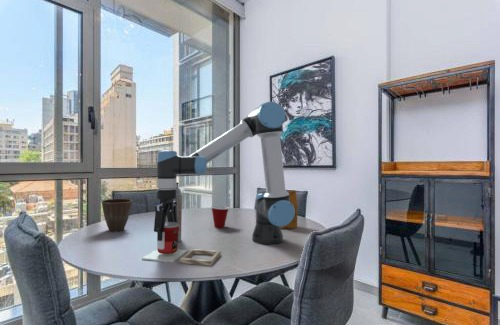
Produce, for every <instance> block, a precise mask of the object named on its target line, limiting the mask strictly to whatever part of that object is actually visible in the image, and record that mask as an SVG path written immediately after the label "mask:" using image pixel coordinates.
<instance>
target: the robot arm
mask: <svg viewBox="0 0 500 325" xmlns="http://www.w3.org/2000/svg"><path fill="white" fill-rule="evenodd" d="M285 112H286V111H285V110H284V108H283V107H282V105H280V104H279V103H278V102H276V101H266V102H263V103H261V104H260V105H259V106H258V107H256V108H255V109H253V110H252V111H251V112H250V113H249V114H248V115H247V116H245V117H244V118H242V119H241V120H240V122H239V124H237V125H236V126H233V127H232V128H231V129H230V130H228V131H226V132H224V133H222V135H220V136H218V137H217V138H215V139H214V140H212V141H210V142H209V143H207V144H206V145H204V146H203V147H201V148H199V149H198V150H196V151H195V152H193V153H192V154H190V155H178V152H177V151H176V150H159V151H158V152H157V162H156V166H157V168H156V170H157V171H156V173H157V175H156V179H157V180H156V184H157V185H156V186H157V191H156V199H157V200H159V204H158V205H155V206H154V210H155V213H154V225H153V232H154V233H157V234H156V236H157V237H156V241H157V242H156V245H157V246H156V250H157V249H164V248H165V232H163V231H164V226H165V221H166V216H167V219H168V222H176V223H177V208H176V206H177V201H173V199H175V198H176V189H175V188H176V187H177V183H178V182H177V180H178V179H177V175H198V176H199V175H205V174H206V173H207V165H209V163H210V162H212V161H214V160H216V159H217V158H218V157H220V156H221V155H223V154H224V153H227V152H228V151H230V150H231V149H233V147H236V146H237V145H239V144H240V143H242V142H243V141H244V140H246V139H248V138H253V137H255V136H257V137H258V138H260V145H261V155H262V163H263V172H264V173H263V174H264V181H265V193H258V194H256V197H255V198H256V199H255V201H256V204H255V206H256V207H255V211H256V212H255V226H254V230H253V232H252V236H251V240H252V241H253V242H254V243H258V244H262V245H273V244H274V245H275V244H280V242H281V243H282V242H283V241H284V234H283V232H282V229H281V228H280V227H282V226H286V225H288V224H289V223H290V222H291V221H292V220H293V218H294V215H295V209H294V206H293V205H292V204H291V203H290V196H289V193H288V192H287V191H288V190H286V183H285V182H286V181H285V174H284V171H285V170H284V163H283V162H284V160H283V153H282V144H281V143H282V142H281V135H282V134H283V133H284V130H283V128H284V127H283V125H284V122H285V120H286V113H285ZM173 206H174V207H173Z"/></svg>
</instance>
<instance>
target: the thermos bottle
mask: <svg viewBox="0 0 500 325" xmlns="http://www.w3.org/2000/svg"><path fill="white" fill-rule="evenodd" d="M179 187H180V186H179V182H177V187H176V188H175V189H176V198H175V199H173V201H177V206H176V208H177V223H178V224H179V232H178V243H180V242H181V241H182V222H183V221H182V218H183V217H182V210H183V209H182V207H183V206H182V205H183V204H182V203H183V194H182V193H181V191H182V190H181V189H180V188H179ZM173 207H174V206H173ZM165 222H168V219H167V216H166V221H165Z"/></svg>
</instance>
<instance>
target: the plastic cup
mask: <svg viewBox="0 0 500 325" xmlns="http://www.w3.org/2000/svg"><path fill="white" fill-rule="evenodd" d="M210 207H211V211H212V219H213V224H214V225H213V226H214V228H217V229H221V228H223V229H224V227H225V226H226V220H227V215H228V212H229V210H230V207H229V206H226V205H211V206H210Z"/></svg>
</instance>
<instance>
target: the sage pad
mask: <svg viewBox="0 0 500 325" xmlns="http://www.w3.org/2000/svg"><path fill="white" fill-rule="evenodd" d="M186 253H188V249H177V251H176V252H175V253H171V254H162V253H159V252H158V250H157V249H155V250H153V251H151V252H150V253H148V254H146V255H145V256H143V257H142V258H141V260H142V261H143V260H144V261H154V262H161V263H162V262H163V263H164V262H165V263H174V262H176V261H177V260H179V259H180V258H181V257H182V256H184V255H185V254H186Z"/></svg>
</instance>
